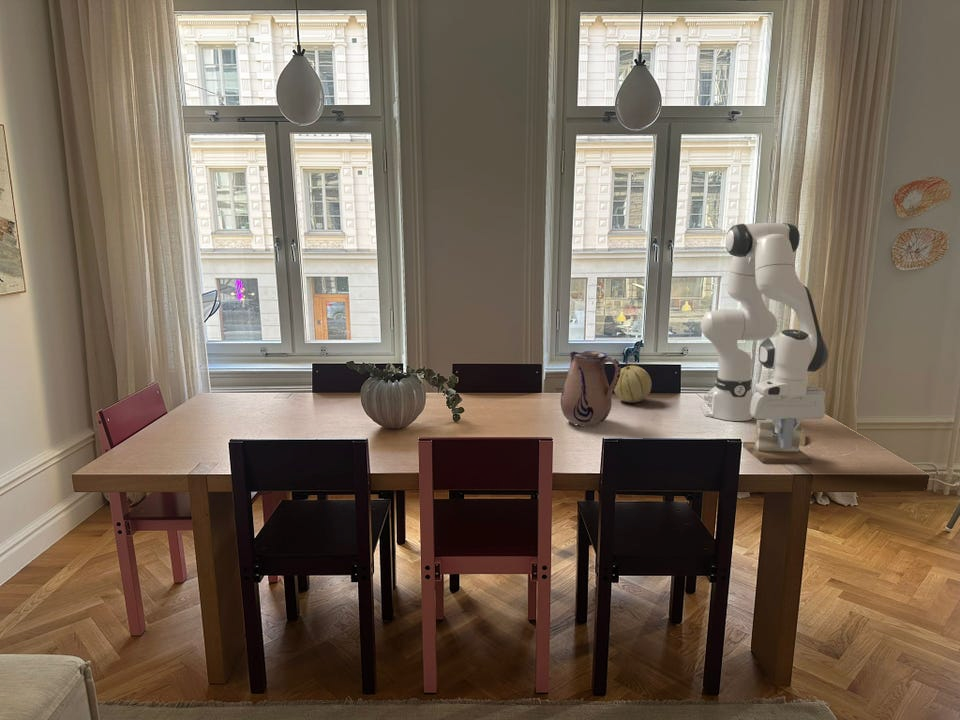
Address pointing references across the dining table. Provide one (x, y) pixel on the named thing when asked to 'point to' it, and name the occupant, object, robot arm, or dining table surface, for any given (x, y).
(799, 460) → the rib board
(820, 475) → the dining table surface
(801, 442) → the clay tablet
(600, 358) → the ceramic pitcher
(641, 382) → the cantaloupe
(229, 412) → the dining table surface
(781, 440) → the slotted plate
